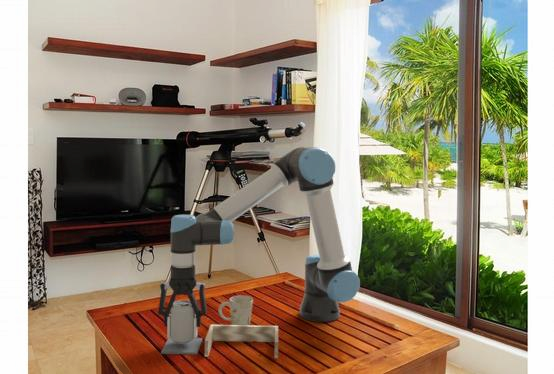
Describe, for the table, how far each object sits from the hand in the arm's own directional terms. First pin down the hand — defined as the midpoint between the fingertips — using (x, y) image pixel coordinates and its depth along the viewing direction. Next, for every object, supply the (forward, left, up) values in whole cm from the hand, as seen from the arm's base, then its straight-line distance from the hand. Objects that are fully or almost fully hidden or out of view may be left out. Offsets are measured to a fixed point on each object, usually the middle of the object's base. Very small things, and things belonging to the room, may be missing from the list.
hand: (182, 336), depth 151 cm
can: (0, 0, -1) cm, 1 cm away
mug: (-15, -18, -4) cm, 24 cm away
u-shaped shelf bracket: (-19, +1, -3) cm, 19 cm away
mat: (0, 0, -3) cm, 3 cm away
